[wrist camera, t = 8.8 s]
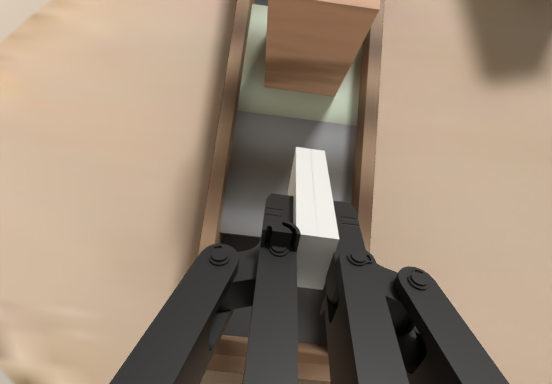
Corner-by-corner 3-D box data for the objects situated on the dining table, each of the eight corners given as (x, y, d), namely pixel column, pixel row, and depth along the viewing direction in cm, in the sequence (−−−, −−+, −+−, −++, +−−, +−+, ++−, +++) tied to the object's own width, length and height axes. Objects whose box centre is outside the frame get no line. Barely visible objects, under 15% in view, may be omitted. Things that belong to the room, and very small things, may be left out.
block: (334, 96, 27) (379, 9, 17) (264, 87, 27) (268, -7, 17) (340, 33, 28) (385, -83, 18) (272, 23, 28) (280, -100, 18)
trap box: (342, 359, 26) (361, 385, 21) (195, 344, 26) (181, 367, 21) (369, -36, 33) (389, -86, 28) (254, -53, 32) (253, -107, 28)
